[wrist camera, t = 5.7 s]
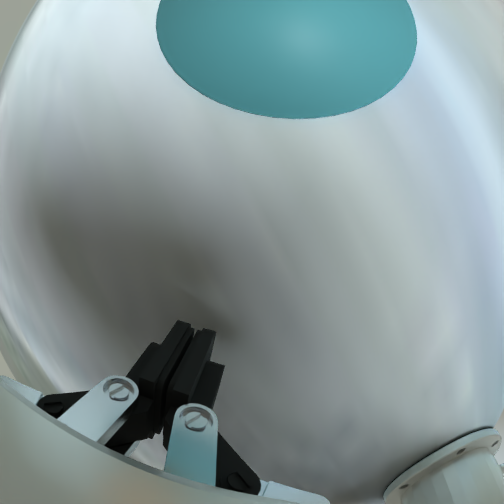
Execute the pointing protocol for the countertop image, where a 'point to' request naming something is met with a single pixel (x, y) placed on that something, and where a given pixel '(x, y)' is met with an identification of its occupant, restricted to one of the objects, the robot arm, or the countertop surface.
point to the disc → (289, 52)
